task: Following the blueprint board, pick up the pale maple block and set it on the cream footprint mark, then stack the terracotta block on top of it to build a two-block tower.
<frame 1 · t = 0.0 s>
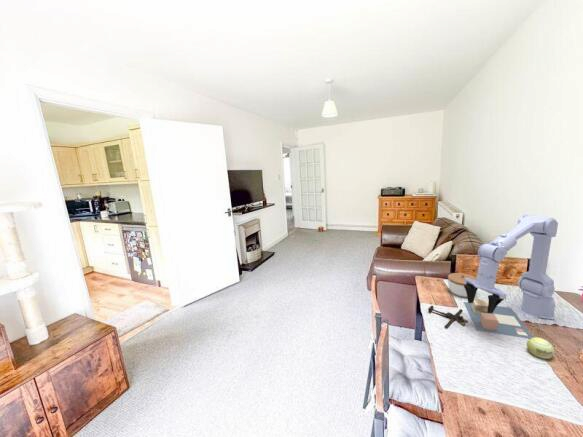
hand: (479, 307, 96), 11 cm above the table, tool pointing down, fingers open, 7 cm apart
maple block: (480, 311, 109), point 1 cm above the table, touching blueprint board
terracotta block: (488, 326, 99), point 1 cm above the table, touching blueprint board
blueprint board: (494, 319, 104), on the table
bear figurine: (446, 319, 108), on the table
tennis ball: (539, 355, 84), on the table
lidded bowl: (461, 294, 125), on the table
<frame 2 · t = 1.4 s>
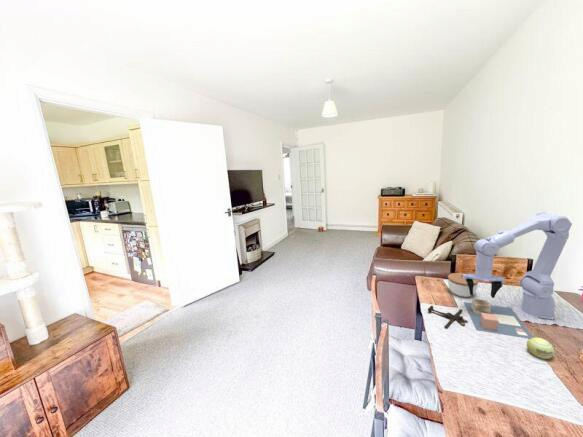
hand: (481, 295, 107), 8 cm above the table, tool pointing down, fingers open, 7 cm apart
nothing on the table moved.
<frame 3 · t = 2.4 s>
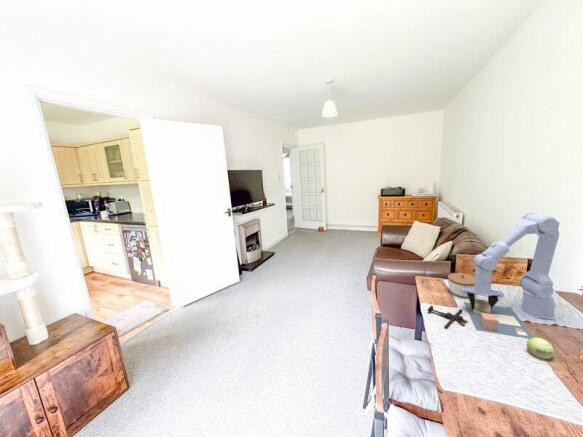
hand: (480, 309, 108), 2 cm above the table, tool pointing down, fingers closed on maple block, 5 cm apart
maple block: (480, 311, 109), point 1 cm above the table, touching blueprint board, gripper
everything else where it was.
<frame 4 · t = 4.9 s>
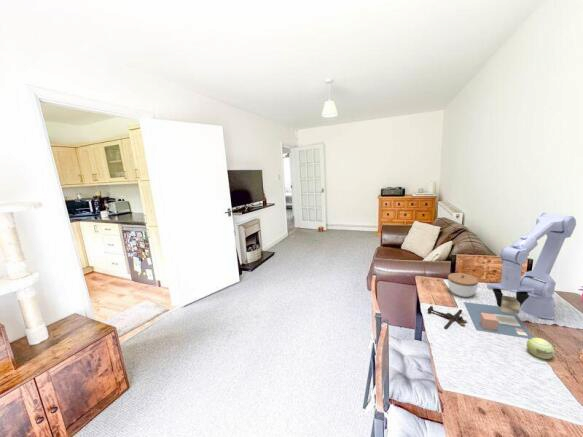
hand: (507, 306, 101), 7 cm above the table, tool pointing down, fingers closed on maple block, 5 cm apart
maple block: (507, 309, 101), point 6 cm above the table, touching gripper
everything else where it was.
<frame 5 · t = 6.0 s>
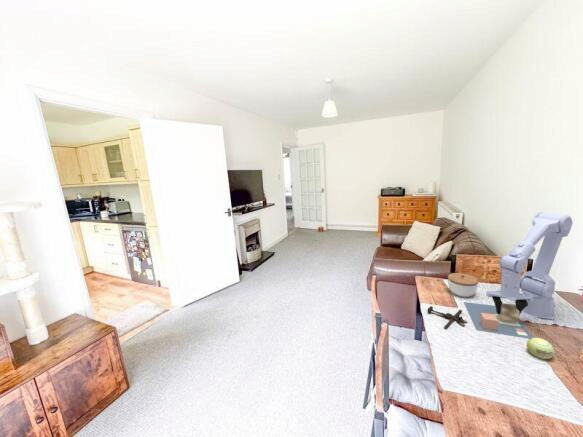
hand: (507, 314, 101), 3 cm above the table, tool pointing down, fingers closed on maple block, 5 cm apart
maple block: (507, 316, 101), point 2 cm above the table, touching gripper
everything else where it was.
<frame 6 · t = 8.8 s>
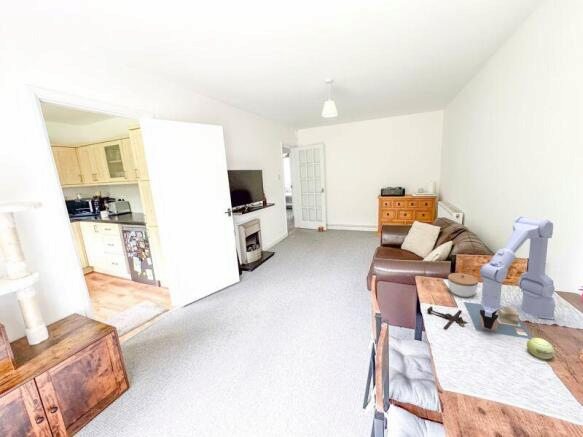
hand: (488, 324, 99), 2 cm above the table, tool pointing down, fingers closed on terracotta block, 6 cm apart
maple block: (506, 319, 102), point 1 cm above the table, touching blueprint board
terracotta block: (488, 326, 99), point 1 cm above the table, touching blueprint board, gripper
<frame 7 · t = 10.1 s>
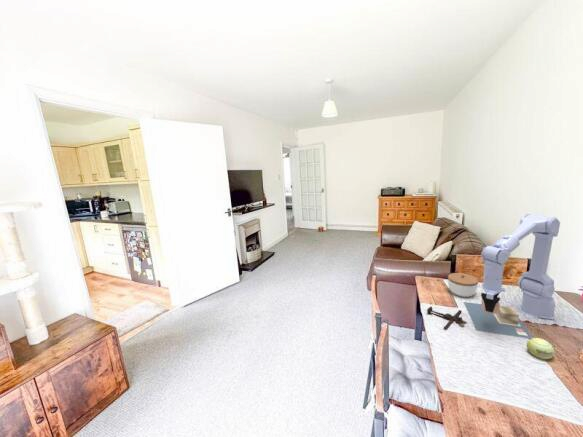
hand: (490, 307, 97), 9 cm above the table, tool pointing down, fingers closed on terracotta block, 6 cm apart
terracotta block: (489, 310, 97), point 8 cm above the table, touching gripper
when the fingers open (7 cm above the table, at t = 12.1 s): terracotta block drops 1 cm, resting on maple block.
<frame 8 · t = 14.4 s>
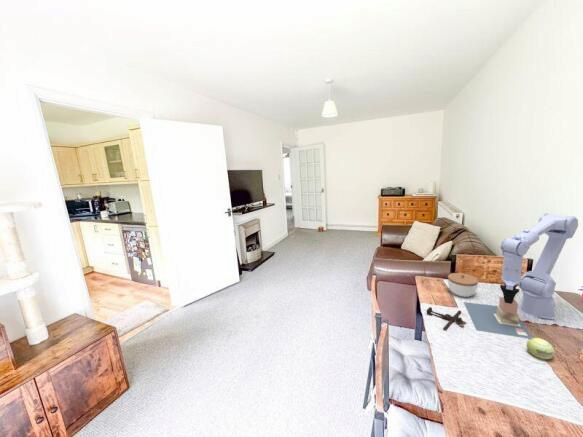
hand: (508, 298, 100), 10 cm above the table, tool pointing down, fingers open, 7 cm apart
maple block: (506, 319, 102), point 1 cm above the table, touching blueprint board, terracotta block
terracotta block: (507, 310, 101), point 5 cm above the table, touching maple block
at the end: maple block 0.1 cm from the target spot on the blueprint board, point 0.7 cm above the blueprint board's base; terracotta block 0.1 cm off-centre on the maple block, point 4.5 cm above the maple block's base; terracotta block tilted 0° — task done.
